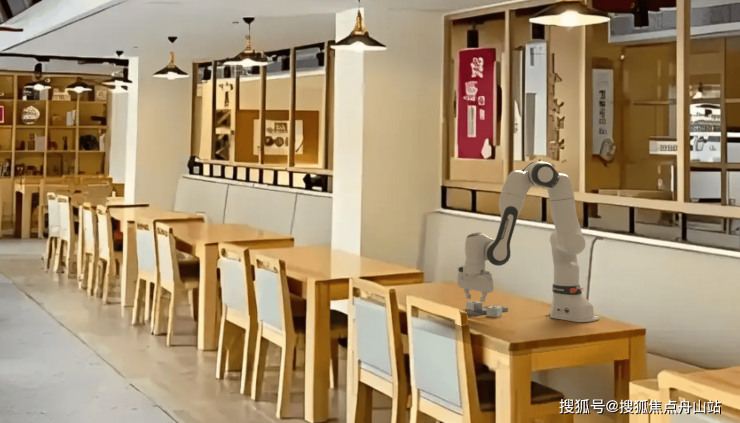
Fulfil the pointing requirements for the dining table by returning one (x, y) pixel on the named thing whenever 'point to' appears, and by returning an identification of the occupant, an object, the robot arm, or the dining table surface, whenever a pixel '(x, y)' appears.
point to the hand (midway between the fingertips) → (475, 300)
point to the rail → (483, 311)
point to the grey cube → (474, 306)
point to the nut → (494, 311)
